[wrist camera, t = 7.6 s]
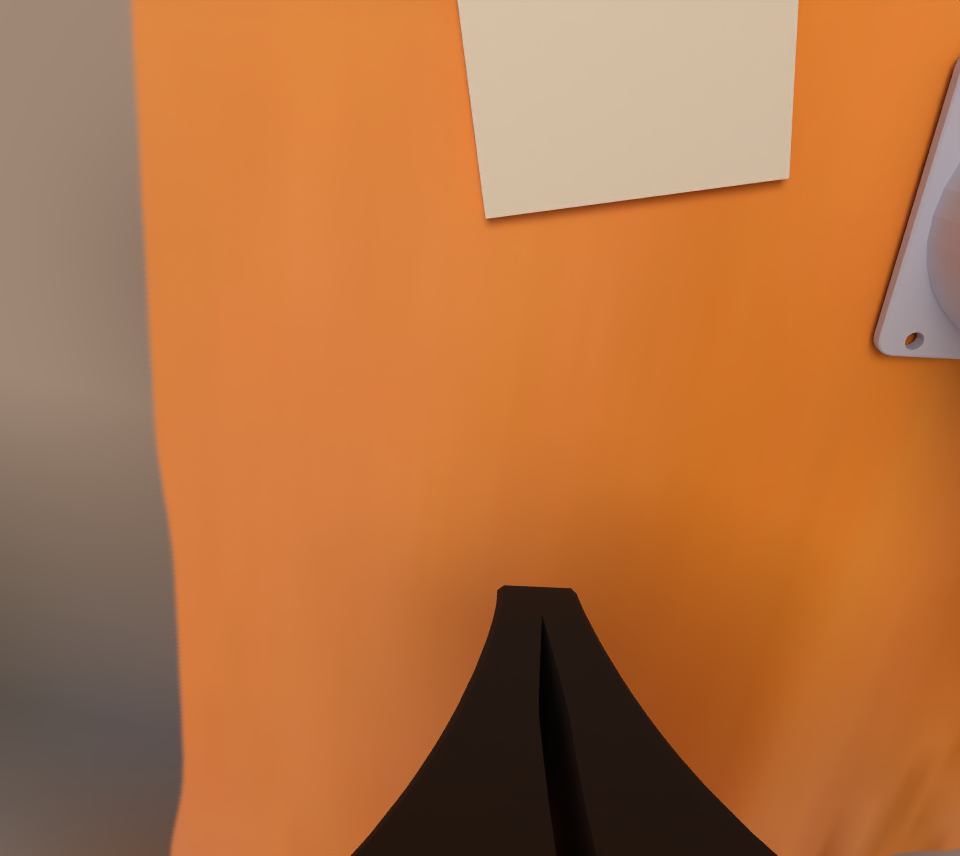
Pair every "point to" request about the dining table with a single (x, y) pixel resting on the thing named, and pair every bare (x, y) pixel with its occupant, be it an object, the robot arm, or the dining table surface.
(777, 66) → the napkin
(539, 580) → the dining table surface
